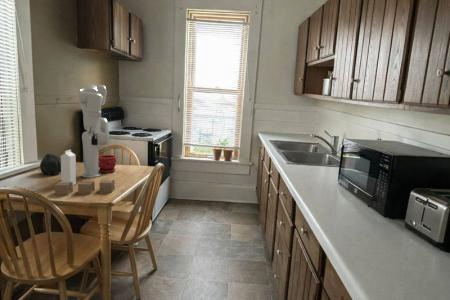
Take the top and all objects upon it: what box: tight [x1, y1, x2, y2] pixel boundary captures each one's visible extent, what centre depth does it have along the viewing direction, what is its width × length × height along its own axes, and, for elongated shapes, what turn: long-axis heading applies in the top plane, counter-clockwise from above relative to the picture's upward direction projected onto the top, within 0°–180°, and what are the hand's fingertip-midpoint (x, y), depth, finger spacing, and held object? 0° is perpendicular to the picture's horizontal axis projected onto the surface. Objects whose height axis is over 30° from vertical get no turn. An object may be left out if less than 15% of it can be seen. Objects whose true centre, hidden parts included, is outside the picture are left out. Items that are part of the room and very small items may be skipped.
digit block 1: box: [54, 181, 74, 196], centre depth 173 cm, size 7×7×6 cm
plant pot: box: [99, 154, 117, 174], centre depth 227 cm, size 13×13×12 cm
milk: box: [60, 149, 77, 186], centre depth 188 cm, size 6×6×22 cm
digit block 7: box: [98, 179, 116, 193], centre depth 183 cm, size 7×7×6 cm
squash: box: [39, 153, 61, 176], centre depth 212 cm, size 14×15×15 cm
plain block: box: [77, 180, 96, 195], centre depth 178 cm, size 7×7×6 cm
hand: (94, 144), depth 184 cm, fingers closed
